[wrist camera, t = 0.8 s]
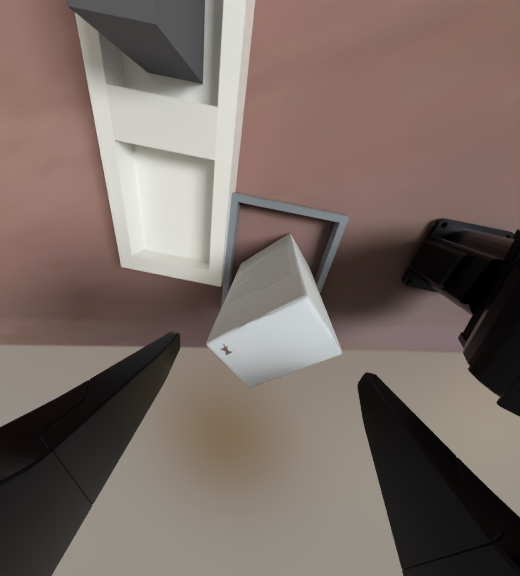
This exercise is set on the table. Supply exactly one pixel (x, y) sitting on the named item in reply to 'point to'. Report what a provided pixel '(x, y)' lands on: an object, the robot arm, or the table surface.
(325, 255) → the gray rectangular frame
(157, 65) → the dark gray rectangular block
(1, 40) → the table surface
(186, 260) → the divided desk organizer
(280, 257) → the skincare box
